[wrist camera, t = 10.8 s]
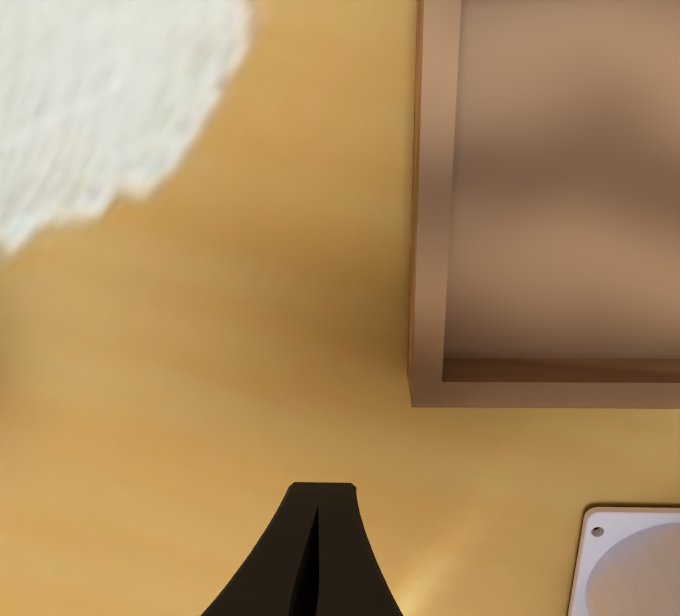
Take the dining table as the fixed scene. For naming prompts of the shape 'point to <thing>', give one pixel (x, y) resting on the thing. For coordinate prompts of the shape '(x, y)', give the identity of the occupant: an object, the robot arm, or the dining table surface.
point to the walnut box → (546, 205)
